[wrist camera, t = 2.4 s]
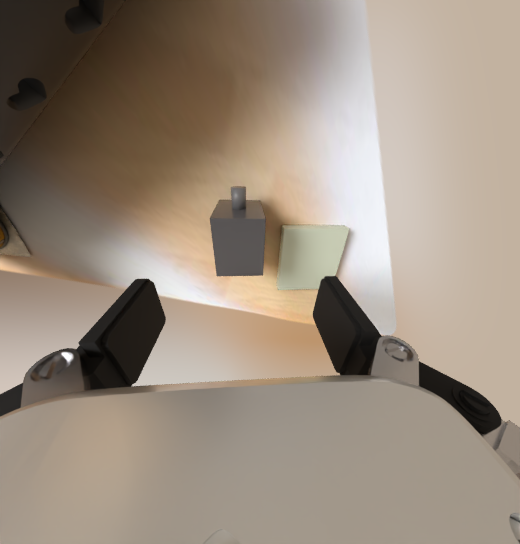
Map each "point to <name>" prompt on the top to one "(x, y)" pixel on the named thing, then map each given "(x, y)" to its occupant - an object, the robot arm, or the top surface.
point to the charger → (238, 235)
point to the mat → (309, 254)
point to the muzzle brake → (41, 55)
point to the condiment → (10, 239)
